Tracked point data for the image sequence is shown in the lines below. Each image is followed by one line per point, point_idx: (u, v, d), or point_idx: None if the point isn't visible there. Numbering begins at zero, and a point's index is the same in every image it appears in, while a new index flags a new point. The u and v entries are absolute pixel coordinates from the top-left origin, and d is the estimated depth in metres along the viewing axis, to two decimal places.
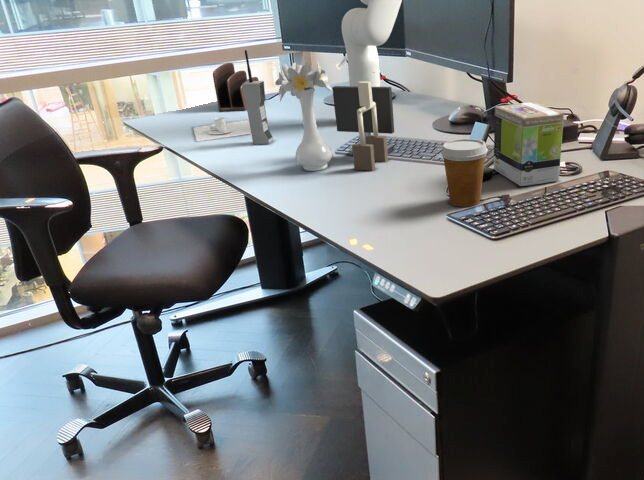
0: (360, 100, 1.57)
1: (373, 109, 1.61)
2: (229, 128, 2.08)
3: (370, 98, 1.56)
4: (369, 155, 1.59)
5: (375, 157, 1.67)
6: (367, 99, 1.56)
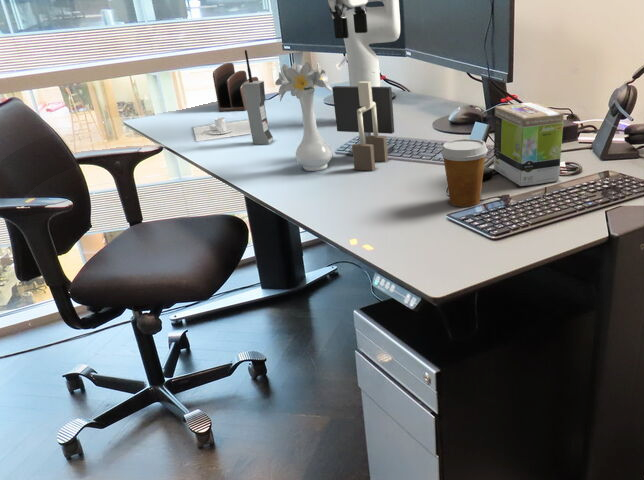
0: (360, 100, 1.57)
1: (373, 109, 1.61)
2: (229, 128, 2.08)
3: (370, 98, 1.56)
4: (369, 155, 1.59)
5: (375, 157, 1.67)
6: (367, 99, 1.56)
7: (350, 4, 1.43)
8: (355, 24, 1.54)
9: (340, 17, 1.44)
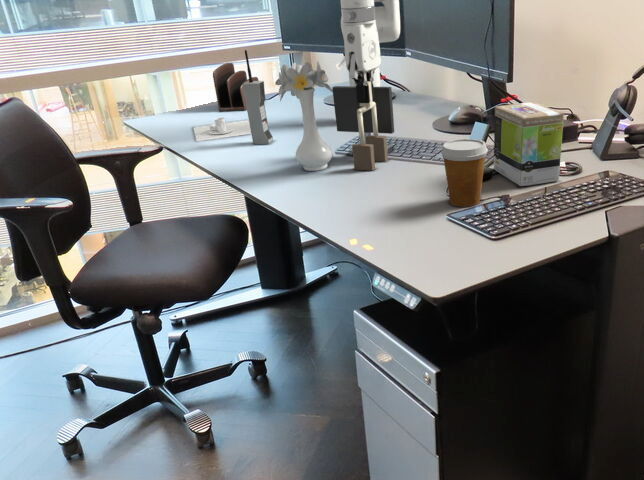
0: None
1: (373, 109, 1.61)
2: (229, 128, 2.08)
3: (370, 98, 1.56)
4: (369, 155, 1.59)
5: (375, 157, 1.67)
6: None
7: (365, 69, 1.49)
8: None
9: (363, 85, 1.53)
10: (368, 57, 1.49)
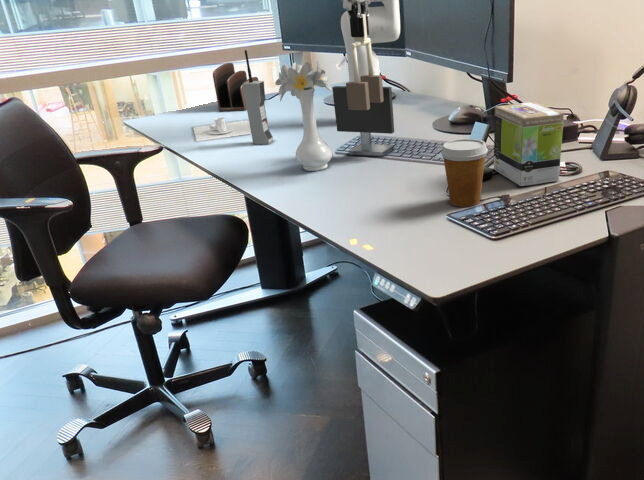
0: None
1: (368, 45, 1.54)
2: (229, 128, 2.08)
3: (364, 32, 1.49)
4: (364, 93, 1.52)
5: (370, 98, 1.60)
6: None
7: None
8: None
9: (357, 17, 1.46)
10: None
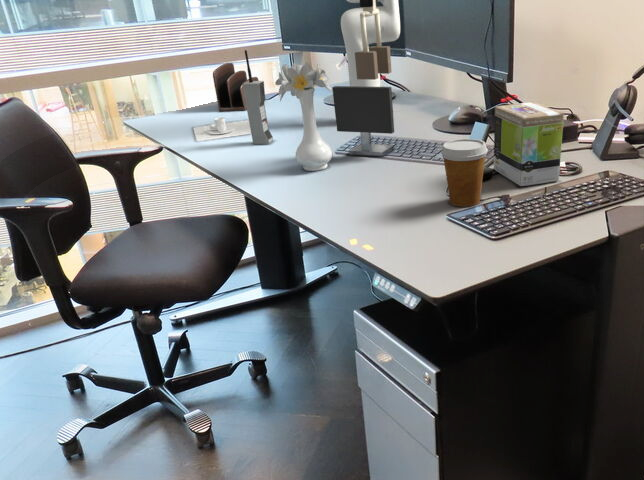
0: None
1: (376, 16, 1.57)
2: (229, 128, 2.08)
3: (373, 1, 1.52)
4: (372, 62, 1.55)
5: (378, 69, 1.63)
6: None
7: None
8: None
9: None
10: None
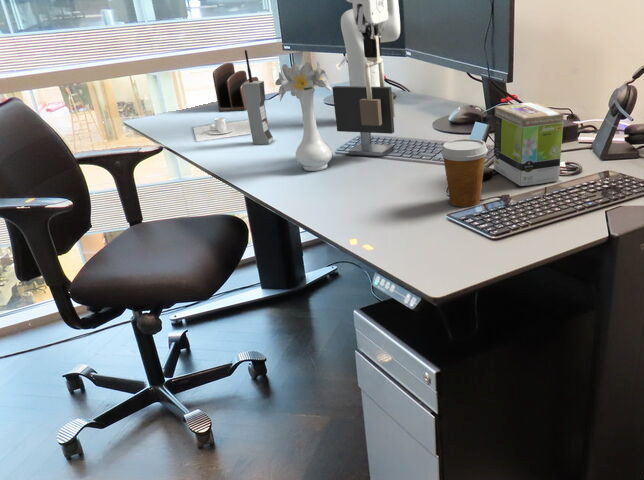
0: None
1: (380, 65, 1.63)
2: (229, 128, 2.08)
3: (377, 52, 1.58)
4: (376, 110, 1.61)
5: None
6: None
7: (372, 22, 1.50)
8: None
9: (371, 39, 1.55)
10: (376, 10, 1.51)
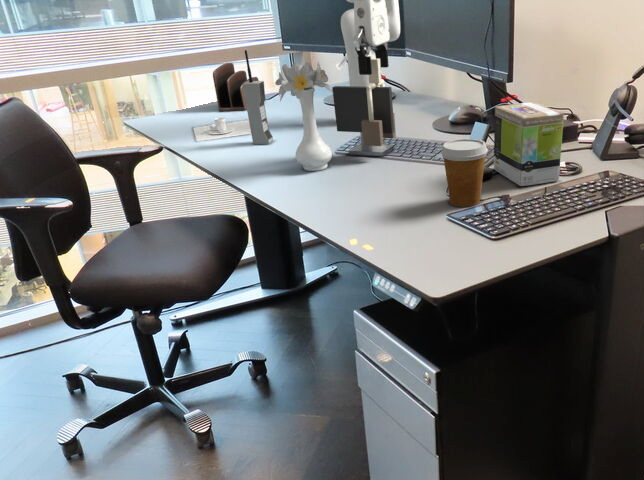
0: (369, 77, 1.61)
1: (382, 86, 1.66)
2: (229, 128, 2.08)
3: (379, 74, 1.60)
4: (378, 131, 1.64)
5: (383, 134, 1.72)
6: (376, 76, 1.60)
7: (374, 44, 1.53)
8: None
9: (364, 56, 1.54)
10: (377, 32, 1.53)
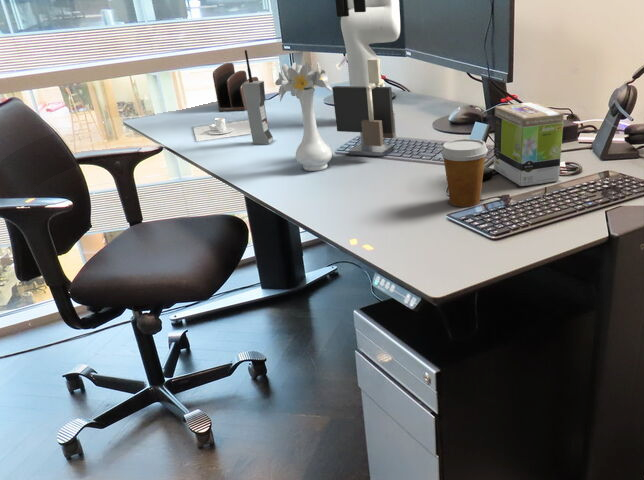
0: (369, 77, 1.61)
1: (382, 86, 1.66)
2: (229, 128, 2.08)
3: (379, 74, 1.60)
4: (378, 131, 1.64)
5: (383, 134, 1.72)
6: (376, 76, 1.60)
7: None
8: (354, 4, 1.70)
9: None
10: None
